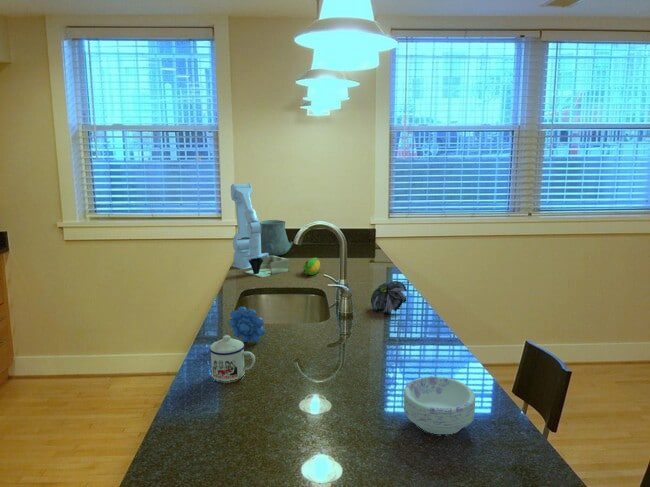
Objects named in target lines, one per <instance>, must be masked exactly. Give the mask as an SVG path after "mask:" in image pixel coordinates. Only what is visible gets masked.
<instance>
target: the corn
mask: <svg viewBox="0 0 650 487" xmlns="http://www.w3.org/2000/svg"><path fill="white" fill-rule="evenodd" d="M320 268H321V262H320V260H319V259H318V258H317V257H313V258H310V259H309V260H307V261H306V262H305V263H304V264H303V267H302V269H303V273H304V274H305V275H306V276H315V275H317V274H318V272H320Z"/></svg>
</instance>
